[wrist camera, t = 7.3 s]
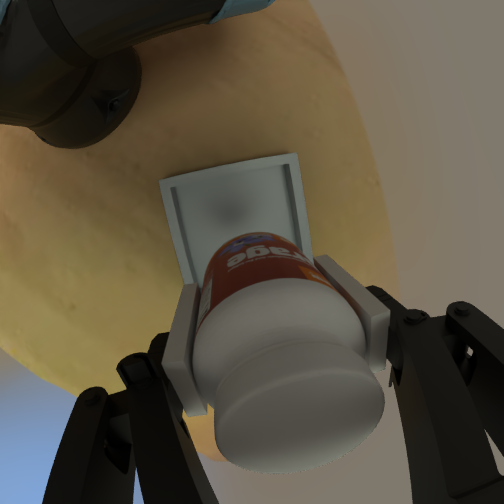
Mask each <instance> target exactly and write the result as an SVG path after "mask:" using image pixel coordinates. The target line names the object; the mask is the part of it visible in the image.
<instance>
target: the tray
mask: <svg viewBox="0 0 504 504" xmlns="http://www.w3.org/2000/svg"><path fill="white" fill-rule="evenodd" d="M158 181H159V185H160V190H161V194H162V199H163V203H164V207H165V212H166V216H167V220H168V224H169V228H170V232H171V236H172V240H173V244H174V248H175V251H176V255H177V259H178V262H179V266H180V269H181V273H182V277H183V280H184V283H185V285H187V284H191V283H196V282H198V286H199V290H200V293H201V294H202V287H203V280H204V275H205V272H206V268H207V266H208V263H209V261H210V259H211V258H212V256H213V255H214V253H215V252H216V251H217V250H218V249H219V248H220V247H221V246H222V245H223V244H224V243H226V242H227V241H229V240H230V239H232V238H234V237H236V236H239V235H242V234H246V233H250V232H269V233H274V234H277V235H279V236H282V237H284V238H286V239H287V240H289V241H290V242H292V243H293V244H294V245H295V246H297V247H298V248H299V249H300V250H301V252H302V253H303V254H304V255H305V256H306V257H307V258H308V259H309V260H310V261H311V262H312V264H313V255H312V247H311V239H310V232H309V225H308V218H307V211H306V204H305V198H304V191H303V185H302V179H301V173H300V167H299V161H298V156H297V153H290V154H283V155H277V156H271V157H265V158H259V159H253V160H248V161H242V162H237V163H232V164H227V165H222V166H217V167H213V168H208V169H203V170H199V171H195V172H190V173H186V174H182V175H178V176H174V177H170V178H166V179H162V180H158ZM313 265H314V264H313Z"/></svg>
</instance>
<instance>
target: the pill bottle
mask: <svg viewBox="0 0 504 504" xmlns="http://www.w3.org/2000/svg"><path fill="white" fill-rule="evenodd" d="M365 353H366V340H365V334H364V330H363V327H362V324H361V322H360V319H359V318H358V316H357V314H356V313H355V311H354V310H353V308H352V307H351V306H350V305H349V303H348V302H347V301H346V300H345V299H344V297H343V296H342V295H341V294H340V293H339V292H338V291H337V290H336V289H335V288H334V287H333V286H332V284H331V283H330V282H329V281H328V280H327V279H326V278H325V277H324V276H323V275H322V273H321V272H320V271H319V270H318V269H317V268H316V267H315V266H314V265H313V264H312V262H311V261H310V260H309V259H308V258H307V257H306V256H305V255H304V254H303V253H302V252H301V250H300V249H299V248H298V247H297V246H295V245H294V244H293V243H292V242H290V241H289V240H287V239H286V238H284V237H282V236H279V235H277V234H274V233H269V232H250V233H246V234H242V235H239V236H236V237H234V238H232V239H230V240H229V241H227V242H226V243H224V244H223V245H222V246H221V247H220V248H219V249H218V250H217V251H216V252H215V253H214V255H213V256H212V258H211V259H210V261H209V263H208V266H207V268H206V272H205V275H204V280H203V287H202V294H201V300H200V307H199V314H198V320H197V327H196V334H195V340H194V347H193V359H192V365H193V373H194V378H195V381H196V384H197V387H198V389H199V391H200V393H201V394H202V396H203V397H204V399H205V400H206V401H207V403H208V404H209V405H210V406H211V407H212V408H213V409H214V430H215V440H216V444H217V447H218V449H219V451H220V452H221V454H222V455H223V456H224V457H225V458H226V459H227V460H229V461H230V462H231V463H233V464H235V465H237V466H238V467H241V468H243V469H247V470H250V471H254V472H259V473H267V474H285V473H294V472H301V471H305V470H309V469H313V468H316V467H320V466H323V465H325V464H328V463H330V462H332V461H334V460H336V459H338V458H340V457H342V456H344V455H346V454H347V453H349V452H350V451H352V450H353V449H354V448H356V447H357V446H358V445H360V444H361V443H362V442H363V441H364V440H365V439H366V438H367V437H368V436H369V435H370V434H371V433H372V432H373V430H374V429H375V427H376V426H377V424H378V423H379V421H380V419H381V417H382V414H383V411H384V404H385V400H384V393H383V390H382V387H381V386H380V384H379V382H378V381H377V379H376V377H375V376H374V374H373V373H372V371H371V370H370V368H369V366H368V365H367V363H366V362H365Z"/></svg>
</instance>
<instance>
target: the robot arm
mask: <svg viewBox="0 0 504 504" xmlns="http://www.w3.org/2000/svg"><path fill="white" fill-rule="evenodd" d="M274 1H275V0H0V124H5V125H13V126H23V127H28V128H29V129H30V130H32V131H34V132H35V134H36V135H37V136H38V137H39V138H40V139H41V140H42V141H44V142H45V143H47V144H49V145H52V146H54V147H59V148H68V149H77V148H83V147H87V146H89V145H92V144H94V143H96V142H98V141H100V140H102V139H103V138H105V137H106V136H107V135H109V134H110V133H111V132H112V131H113V130H114V129H116V128H117V127H118V125H119V124H120V123H121V122H122V121H123V120H124V118H125V117H126V116H127V114H128V113H129V111H130V109H131V108H132V106H133V104H134V102H135V100H136V97H137V95H138V92H139V88H140V83H141V63H140V60H139V57H138V55H137V53H136V51H135V49H134V48H133V47H132V46H133V45H135V44H138V43H141V42H143V41H146V40H149V39H151V38H154V37H157V36H160V35H163V34H166V33H169V32H173V31H176V30H180V29H184V28H187V27H191V26H195V25H200V24H213V23H215V22H217V21H219V20H220V19H224V18H228V17H232V16H237V15H241V14H246V13H252V12H256V11H259V10H262V9H264V8H266V7H268V6H269V5H271V4H272V3H273V2H274ZM313 260H314V266H315V267H316V268H317V269H318V270H319V271H320V272H321V273H322V275H323V276H324V277H325V278H326V279H327V280H328V281H329V282H330V283H331V284H332V286H333V287H334V288H335V289H336V290H337V291H338V292H339V293H340V294H341V295H342V296H343V297H344V299H345V300H346V301H347V302H348V303H349V305H350V306H351V307H352V308H353V310H354V311H355V313H356V314H357V316H358V318H359V319H360V322H361V324H362V327H363V330H364V334H365V340H366V353H365V362H366V363H367V365H368V366H369V368H370V370H371V371H372V373H373V374H374V373H377V372H379V371H382V370H384V369H385V367H386V359H388V360H389V361H390V363H391V364H392V367H391V373H390V380H389V387H391V386H392V382H393V384H394V389H395V393H396V397H397V402H398V407H399V412H400V417H401V422H402V427H403V432H404V438H405V444H406V450H407V457H408V463H409V471H410V480H411V489H412V500H413V504H504V476H502V475H501V474H500V473H499V472H498V469H497V466H496V463H495V459H494V456H493V453H492V450H491V447H490V444H489V441H488V438H487V435H486V432H487V433H488V434H489V436H490V437H491V439H492V440H493V442H494V443H495V444H496V446H497V447H498V449H499V451H500V452H501V454H502V455H503V457H504V329H503V328H502V327H500V326H499V325H497V323H495V322H494V321H493V320H492V319H490V318H489V317H488V316H487V315H485V314H484V313H483V312H481V311H480V310H479V309H477V308H476V307H475V306H473V305H472V304H470V303H467V302H464V301H461V302H460V301H458V302H453V303H451V304H450V305H449V306H448V307H447V311H446V315H444V316H438V317H431V318H430V316H429V315H428V314H427V313H426V312H424V311H422V310H417V309H409V310H407V309H406V308H405V307H404V306H403V305H401V304H400V303H399V302H398V301H397V300H395V299H394V298H393V297H392V296H390V295H389V294H388V293H387V292H386V291H384V290H383V289H382V288H379V287H376V286H373V285H372V286H368V287H364V286H362V285H361V284H360V283H359V282H358V281H357V280H356V279H354V278H353V277H352V276H351V275H350V274H349V273H348V272H346V271H345V270H344V269H343V268H342V267H341V266H339V265H338V264H337V263H336V262H335V261H334V260H332V259H331V258H330V257H329V256H328V255H322V256H318V257H313ZM200 300H201V293H200V290H199V286H198V282H196V283H191V284H187V285H183V289H182V292H181V295H180V299H179V302H178V305H177V309H176V312H175V316H174V319H173V323H172V326H171V330H170V332H166V333H159V334H157V335H156V337H155V338H154V339H153V340H152V341H151V344H150V347H149V350H148V353H143V352H139V353H134V354H131V355H129V356H126V357H125V358H124V359H122V360H121V361H120V362H119V363H118V365H117V368H116V370H117V372H118V374H119V375H120V377H121V379H122V381H123V383H124V384H125V386H126V390H123V391H120V392H117V393H114V394H110V395H108V393H107V392H106V390H105V389H104V388H102V387H91V388H88V389H86V390H84V391H83V392H82V393H81V394H80V395H79V397H78V398H77V400H76V402H75V405H74V408H73V410H72V413H71V415H70V418H69V420H68V423H67V426H66V428H65V431H64V434H63V436H62V439H61V442H60V445H59V448H58V451H57V454H56V457H55V460H54V463H53V466H52V469H51V472H50V476H49V479H48V483H47V486H46V490H45V494H44V498H43V502H42V504H133V493H134V482H135V470H136V468H137V473H138V478H139V483H140V487H141V492H142V496H143V500H144V504H219V503H218V500H217V498H216V496H215V494H214V491H213V489H212V487H211V485H210V483H209V480H208V478H207V476H206V474H205V471H204V469H203V466H202V464H201V462H200V460H199V457H198V455H197V452H196V449H195V447H194V444H193V441H192V439H191V436H190V433H189V431H188V428H187V425H186V423H185V421H184V419H183V418H182V413H183V409H184V411H185V412H186V414H187V416H188V417H191V416H200V415H207V401H206V400H205V399H204V397H203V396H202V394H201V393H200V391H199V389H198V387H197V384H196V381H195V378H194V373H193V365H192V359H193V347H194V340H195V334H196V327H197V320H198V314H199V307H200ZM469 347H470V348H471V349H472V350H473V354H472V356H470V355H469V354H468V353H467V351H468V348H469ZM484 429H485V430H486V432H485V430H484Z"/></svg>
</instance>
